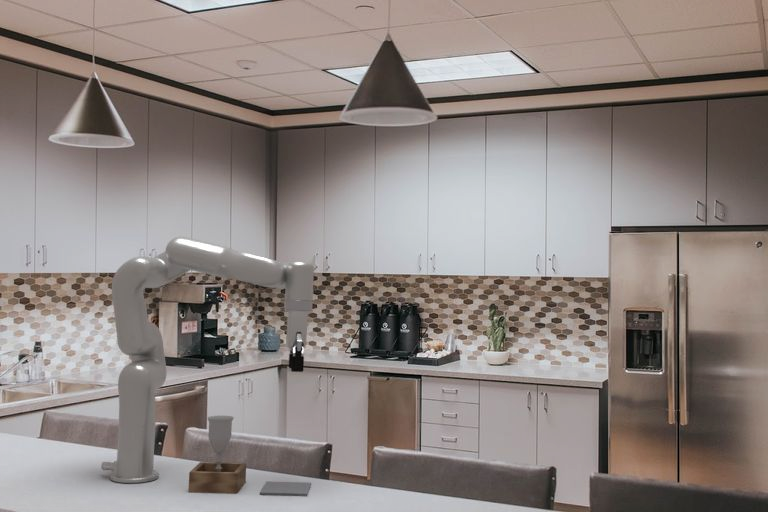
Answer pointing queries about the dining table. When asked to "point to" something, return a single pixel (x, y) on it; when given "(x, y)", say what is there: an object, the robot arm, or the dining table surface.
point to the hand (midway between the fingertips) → (295, 369)
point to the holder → (217, 478)
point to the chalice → (219, 435)
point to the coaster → (285, 488)
